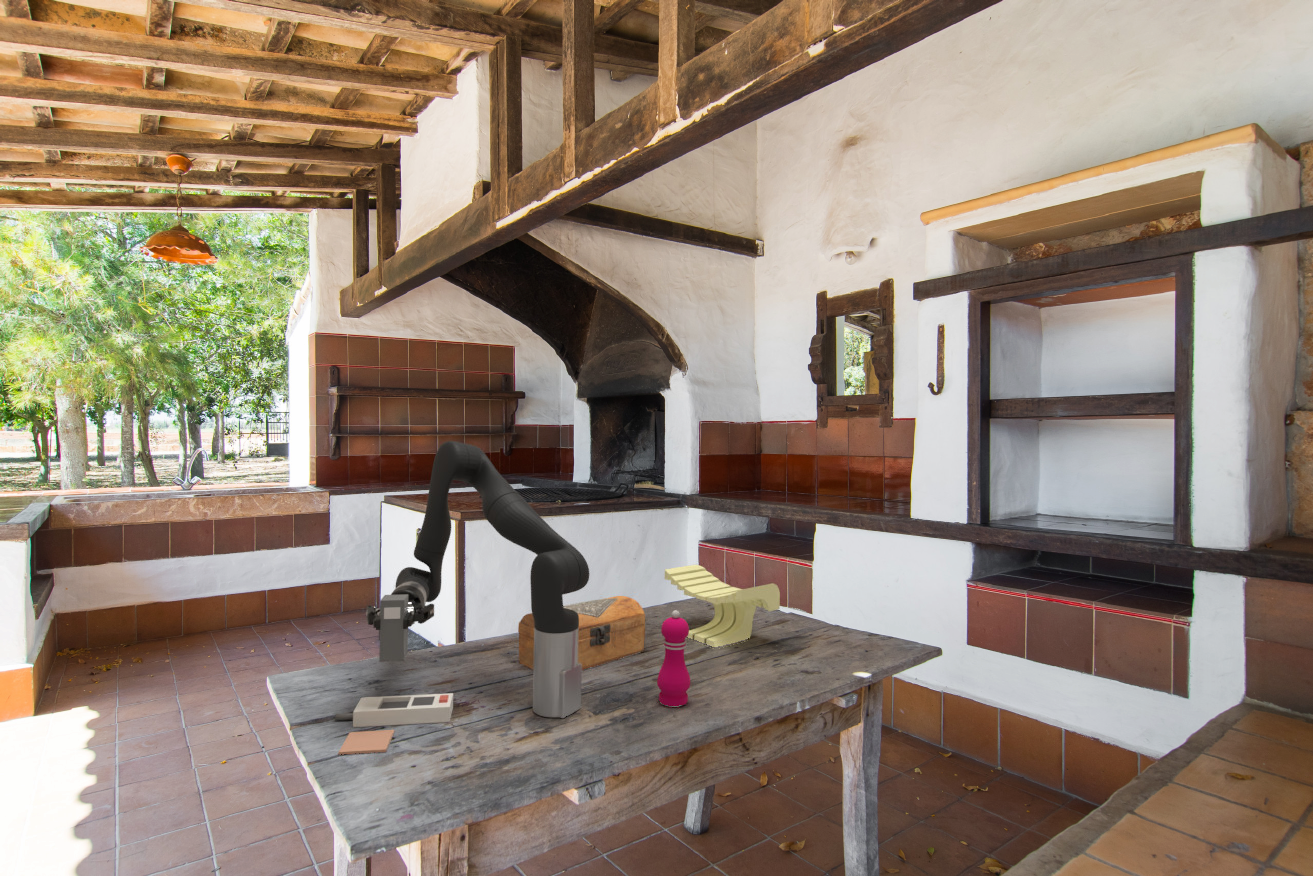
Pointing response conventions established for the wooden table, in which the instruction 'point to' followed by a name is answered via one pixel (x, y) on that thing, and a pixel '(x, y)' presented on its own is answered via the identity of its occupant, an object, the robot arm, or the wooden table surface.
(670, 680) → the pepper mill
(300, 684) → the wooden table surface
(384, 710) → the power strip
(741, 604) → the slatted curved stool
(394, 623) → the block
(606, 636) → the wooden box
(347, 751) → the tile coaster
